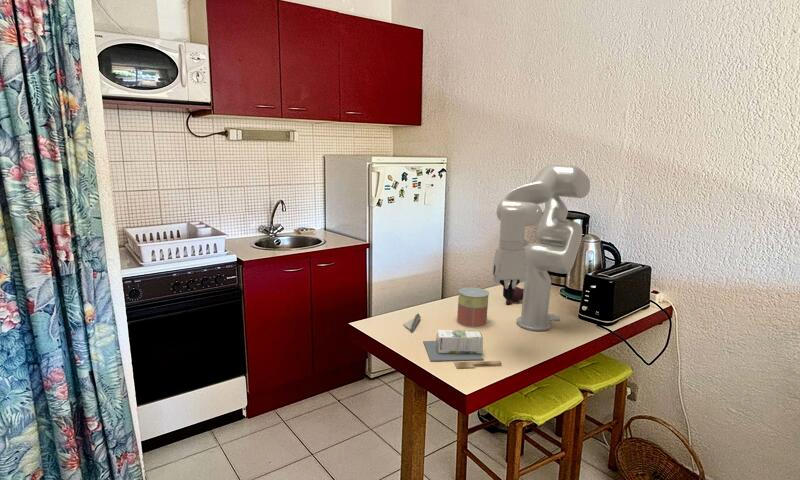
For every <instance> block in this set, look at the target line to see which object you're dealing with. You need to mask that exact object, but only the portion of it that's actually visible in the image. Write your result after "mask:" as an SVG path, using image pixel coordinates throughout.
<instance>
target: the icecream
mask: <svg viewBox="0 0 800 480" xmlns="http://www.w3.org/2000/svg"><path fill="white" fill-rule="evenodd" d="M523 292H524V288H520V287H518V286H516V287H515V289H514V296H513V297H512V300H506V301H505V304H506V305H508V306H509V305H510V304H512V303H517V302H521V301H523Z"/></svg>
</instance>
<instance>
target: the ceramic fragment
mask: <svg viewBox="0 0 800 480" xmlns="http://www.w3.org/2000/svg"><path fill="white" fill-rule="evenodd" d="M421 318H422V317H421V315H420V313H416V314H415V316H414V317H413V318H411V319H410V320H408V321H407V322H405V323H403V326H404V327H405V328H406V329H407V330H409V331H410V333H414V332H415V328H416V326H417V324H418V322H419V320H420V319H421Z"/></svg>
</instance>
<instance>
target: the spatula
mask: <svg viewBox="0 0 800 480" xmlns="http://www.w3.org/2000/svg"><path fill="white" fill-rule="evenodd" d="M453 363H454V366H455V368H456V369H457V370H464V369H466V370H467V369H469V370H470V369H476V368H477V367H481V368H482V367H502V364H503V363H502V362H501V360H488V361H487V360H486V361H485V360H478V361H453Z"/></svg>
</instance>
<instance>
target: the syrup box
mask: <svg viewBox="0 0 800 480" xmlns="http://www.w3.org/2000/svg"><path fill="white" fill-rule="evenodd" d="M435 337H436V339H435V341H436V345H437V349H438V353H458V354H481V355H483V348H484V338H483V334H482V333H481V331H480V330H466V329H465V330H460V329H459V330H458V329H455V330H454V329H437V331H436V336H435Z"/></svg>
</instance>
